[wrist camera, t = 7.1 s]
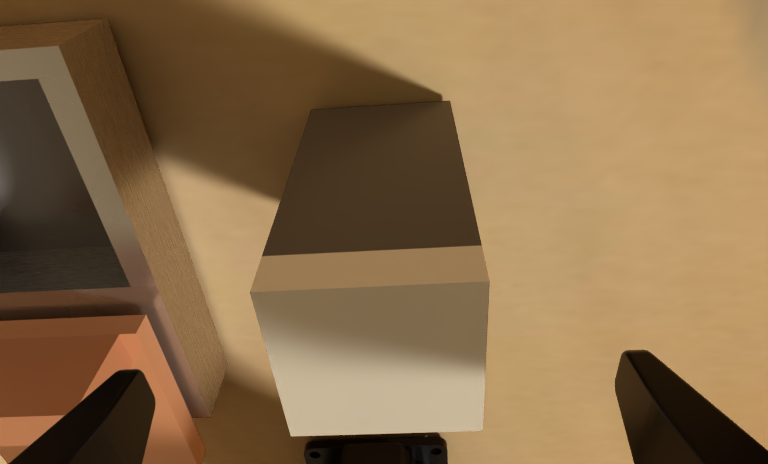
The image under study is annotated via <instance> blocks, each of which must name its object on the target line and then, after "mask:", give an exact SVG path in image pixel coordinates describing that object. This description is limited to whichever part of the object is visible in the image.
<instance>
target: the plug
mask: <svg viewBox="0 0 768 464" xmlns="http://www.w3.org/2000/svg"><path fill="white" fill-rule="evenodd" d="M489 282H490V281H489V277H488V272H487V268H486V263H485V258H484V254H483V249H482V245H481V240H480V236H479V231H478V227H477V222H476V217H475V213H474V208H473V204H472V199H471V195H470V190H469V185H468V181H467V176H466V172H465V167H464V163H463V158H462V154H461V149H460V144H459V140H458V135H457V131H456V126H455V122H454V117H453V113H452V108H451V103H450V101H439V102H424V103H408V104H393V105H377V106H362V107H347V108H331V109H316V110H311V112H310V115H309V118H308V121H307V124H306V127H305V130H304V133H303V136H302V139H301V142H300V145H299V148H298V151H297V154H296V157H295V160H294V163H293V166H292V169H291V172H290V174H289V177H288V180H287V183H286V186H285V189H284V192H283V195H282V198H281V201H280V204H279V207H278V210H277V213H276V216H275V219H274V222H273V225H272V228H271V231H270V234H269V237H268V240H267V243H266V246H265V249H264V252H263V255H262V258H261V261H260V264H259V267H258V270H257V273H256V276H255V279H254V282H253V285H252V288H251V291H250V294H251V298H252V301H253V305H254V308H255V312H256V315H257V319H258V322H259V326H260V329H261V333H262V336H263V340H264V344H265V347H266V351H267V354H268V358H269V361H270V365H271V368H272V372H273V375H274V379H275V382H276V386H277V389H278V393H279V396H280V400H281V403H282V407H283V410H284V414H285V418H286V421H287V425H288V428H289V432H290V435H291V436H324V435H358V434H392V433H426V432H460V431H483V413H484V391H485V369H486V347H487V326H488V304H489Z"/></svg>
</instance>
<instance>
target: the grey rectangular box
mask: <svg viewBox="0 0 768 464" xmlns="http://www.w3.org/2000/svg"><path fill="white" fill-rule="evenodd" d="M125 315H147V318H148V320H149V322H150V324H151V327H152V329H153V331H154V333H155V336H156V338H157V340H158V343H159V345H160V347H161V349H162V352H163V354H164V356H165V358H166V361H167V363H168V365H169V367H170V370H171V372H172V374H173V376H174V379H175V381H176V383H177V386H178V388H179V390H180V392H181V395H182V397H183V399H184V401H185V404H186V406H187V408H188V410H189V413H190V415H191V417H192V418H199V417H211V414H212V411H213V408H214V405H215V402H216V399H217V396H218V393H219V390H220V387H221V384H222V381H223V378H224V375H225V372H226V369H227V366H228V363H227V360H226V357H225V355H224V352H223V349H222V346H221V343H220V340H219V337H218V335H217V332H216V329H215V326H214V323H213V320H212V318H211V315H210V312H209V309H208V306H207V303H206V300H205V298H204V295H203V292H202V289H201V286H200V283H199V280H198V278H197V275H196V272H195V269H194V266H193V263H192V260H191V258H190V255H189V252H188V249H187V246H186V243H185V240H184V238H183V235H182V232H181V229H180V226H179V223H178V220H177V218H176V215H175V212H174V209H173V206H172V203H171V200H170V198H169V195H168V192H167V189H166V186H165V183H164V180H163V178H162V175H161V172H160V169H159V166H158V163H157V160H156V158H155V155H154V152H153V149H152V146H151V143H150V140H149V138H148V135H147V132H146V129H145V126H144V123H143V120H142V118H141V115H140V112H139V109H138V106H137V103H136V100H135V98H134V95H133V92H132V89H131V86H130V83H129V80H128V78H127V75H126V72H125V69H124V66H123V63H122V60H121V58H120V55H119V52H118V49H117V46H116V43H115V40H114V38H113V35H112V32H111V29H110V26H109V23H108V20H107V19H94V20H81V21H68V22H55V23H42V24H29V25H16V26H3V27H0V321H12V320H34V319H57V318H80V317H103V316H125Z"/></svg>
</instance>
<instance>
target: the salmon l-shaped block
mask: <svg viewBox="0 0 768 464" xmlns="http://www.w3.org/2000/svg"><path fill="white" fill-rule="evenodd" d="M124 369H140V370H141V371H142V372H143V373H144V375H145V377H146V379H147V381H148V383H149V385H150V387H151V389H152V392H153V394H154V396H155V401H156V405H155V412H154V416H153V420H152V424H151V428H150V433H149V437H148V441H147V445H146V450H145V454H144V458H143V462H142V464H202V461H203V458H204V455H205V452H206V449H205V447H204V444H203V442H202V440H201V438H200V435H199V433H198V431H197V429H196V426H195V424H194V422H193V419H192V417H191V415H190V413H189V410H188V408H187V406H186V404H185V401H184V399H183V397H182V395H181V392H180V390H179V388H178V386H177V383H176V381H175V379H174V376H173V374H172V372H171V370H170V367H169V365H168V363H167V361H166V358H165V356H164V354H163V352H162V349H161V347H160V345H159V343H158V340H157V338H156V336H155V333H154V331H153V329H152V327H151V324H150V322H149V320H148V318H147V315H125V316H103V317H80V318H57V319H34V320H12V321H0V455H1V456H2V457H3V458H4V460H5V461H6V462H7V463H10V462H11V461H12V460H13V459H14V458H15V457H17V456H18V455H19V454H20V453H21V452H23V451H24V450H25V449H26V448H27V447H28V446H30V445H31V444H32V443H33V442H34V441H35V440H37V439H38V438H39V437H40V436H41V435H42V434H44V433H45V432H46V431H47V430H48V429H49V428H51V427H52V426H53V425H54V424H55V423H56V422H58V421H59V420H60V419H61V418H62V417H63V416H65V415H66V414H67V413H68V412H69V411H71V410H72V409H73V408H74V407H75V406H76V405H78V404H79V403H80V402H81V401H82V400H83V399H85V398H86V397H87V396H88V395H89V394H90V393H92V392H93V391H94V390H95V389H96V388H97V387H99V386H100V385H101V384H102V383H103V382H104V381H106V380H107V379H108V378H109V377H110V376H111V375H113V374H114V373H115V372H117V371H119V370H124Z"/></svg>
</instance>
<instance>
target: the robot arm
mask: <svg viewBox="0 0 768 464" xmlns="http://www.w3.org/2000/svg"><path fill="white" fill-rule="evenodd" d="M615 391H616V396H617V400H618V403H619V407H620V411H621V415H622V419H623V422H624V426H625V430H626V434H627V438H628V442H629V445H630V449H631V453H632V457H633V461H634V464H768V450H766V449H765V448H764V447H763V446H762V445H761V444H759V443H758V442H757V441H756V440H755V439H753V438H752V437H751V436H750V435H749V434H747V433H746V432H745V431H744V430H743V429H741V428H740V427H739V426H738V425H737V424H735V423H734V422H733V421H732V420H731V419H729V418H728V417H727V416H726V415H725V414H723V413H722V412H721V411H720V410H719V409H717V408H716V407H715V406H714V405H713V404H711V403H710V402H709V401H708V400H707V399H706V398H704V397H703V396H702V395H701V394H700V393H698V392H697V391H696V390H695V389H694V388H692V387H691V386H690V385H689V384H688V383H686V382H685V381H684V380H683V379H682V378H680V377H679V376H678V375H677V374H676V373H674V372H673V371H672V370H671V369H670V368H668V367H667V366H666V365H665V364H664V363H662V362H661V361H660V360H659V359H658V358H657V357H655V356H654V355H653V354H652V353H650V352H649V351H646V350H627V351H624V352H623V353H622V355H621V358H620V362H619V366H618V370H617V374H616V378H615ZM155 405H156V401H155V396H154V394H153V392H152V389H151V387H150V385H149V383H148V381H147V379H146V377H145V375H144V373H143V372H142V371H141V370H140V369H124V370H119V371H117V372H115V373H114V374H113V375H111V376H110V377H109V378H108V379H107V380H106V381H104V382H103V383H102V384H101V385H100V386H99V387H97V388H96V389H95V390H94V391H93V392H92V393H90V394H89V395H88V396H87V397H86V398H85V399H83V400H82V401H81V402H80V403H79V404H78V405H76V406H75V407H74V408H73V409H72V410H71V411H69V412H68V413H67V414H66V415H65V416H63V417H62V418H61V419H60V420H59V421H58V422H56V423H55V424H54V425H53V426H52V427H51V428H49V429H48V430H47V431H46V432H45V433H44V434H42V435H41V436H40V437H39V438H38V439H37V440H35V441H34V442H33V443H32V444H31V445H30V446H28V447H27V448H26V449H25V450H24V451H23V452H21V453H20V454H19V455H18V456H17V457H15V458H14V459H13V460H12V461H11V462H10V463H8V464H142V462H143V458H144V454H145V450H146V445H147V441H148V437H149V433H150V428H151V424H152V420H153V416H154V412H155ZM304 456H305V460H306V464H448V462H447V443H446V441H445V440H444V439H443V438H440V437H421V438H387V439H353V440H319V441H310V442H308V443H307V444H306V445H305V452H304Z"/></svg>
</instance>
